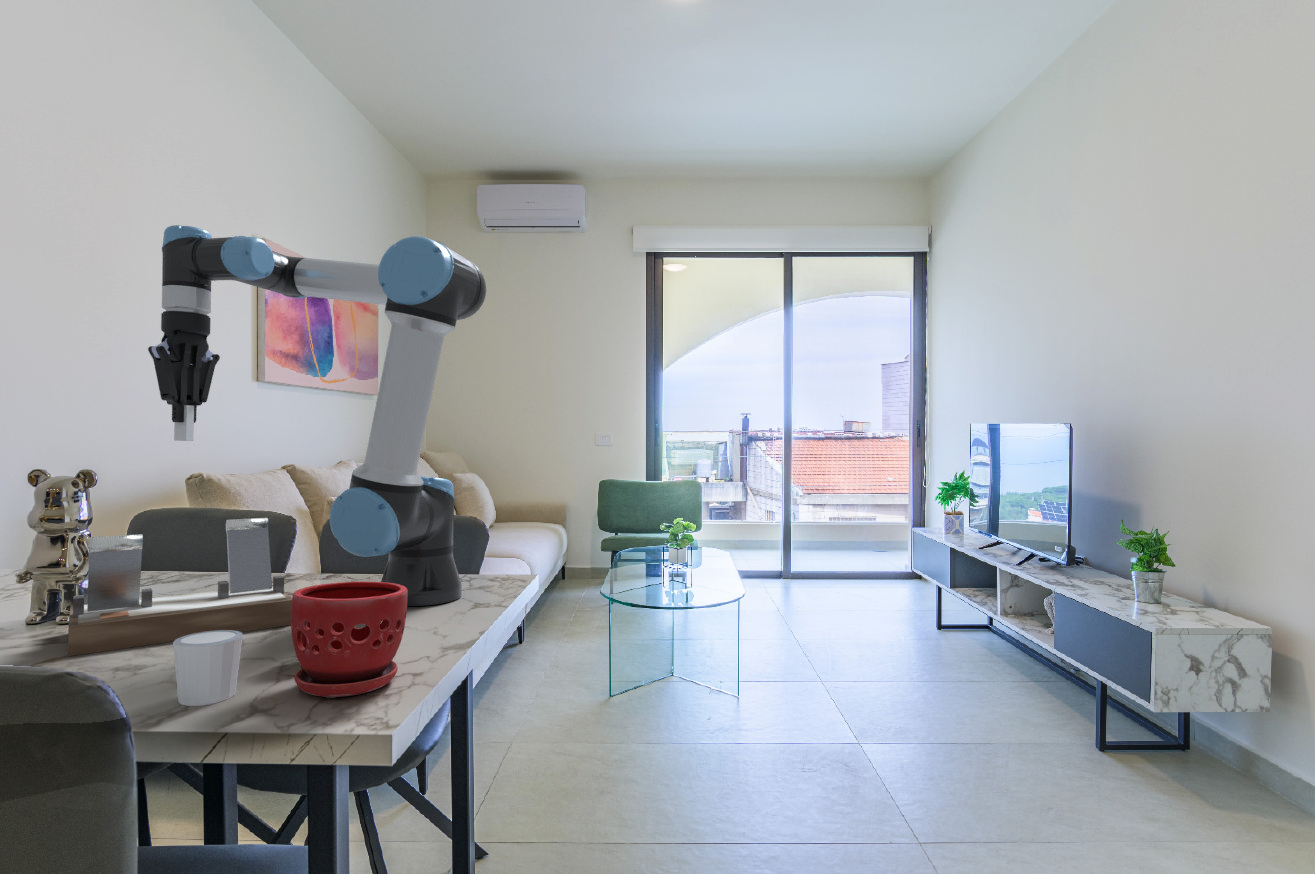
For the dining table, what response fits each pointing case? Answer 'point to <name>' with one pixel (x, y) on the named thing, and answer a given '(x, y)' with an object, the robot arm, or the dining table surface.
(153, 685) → the dining table surface
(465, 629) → the dining table surface
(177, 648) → the white cup
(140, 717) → the dining table surface
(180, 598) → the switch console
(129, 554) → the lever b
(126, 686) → the dining table surface
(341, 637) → the plant pot
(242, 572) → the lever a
